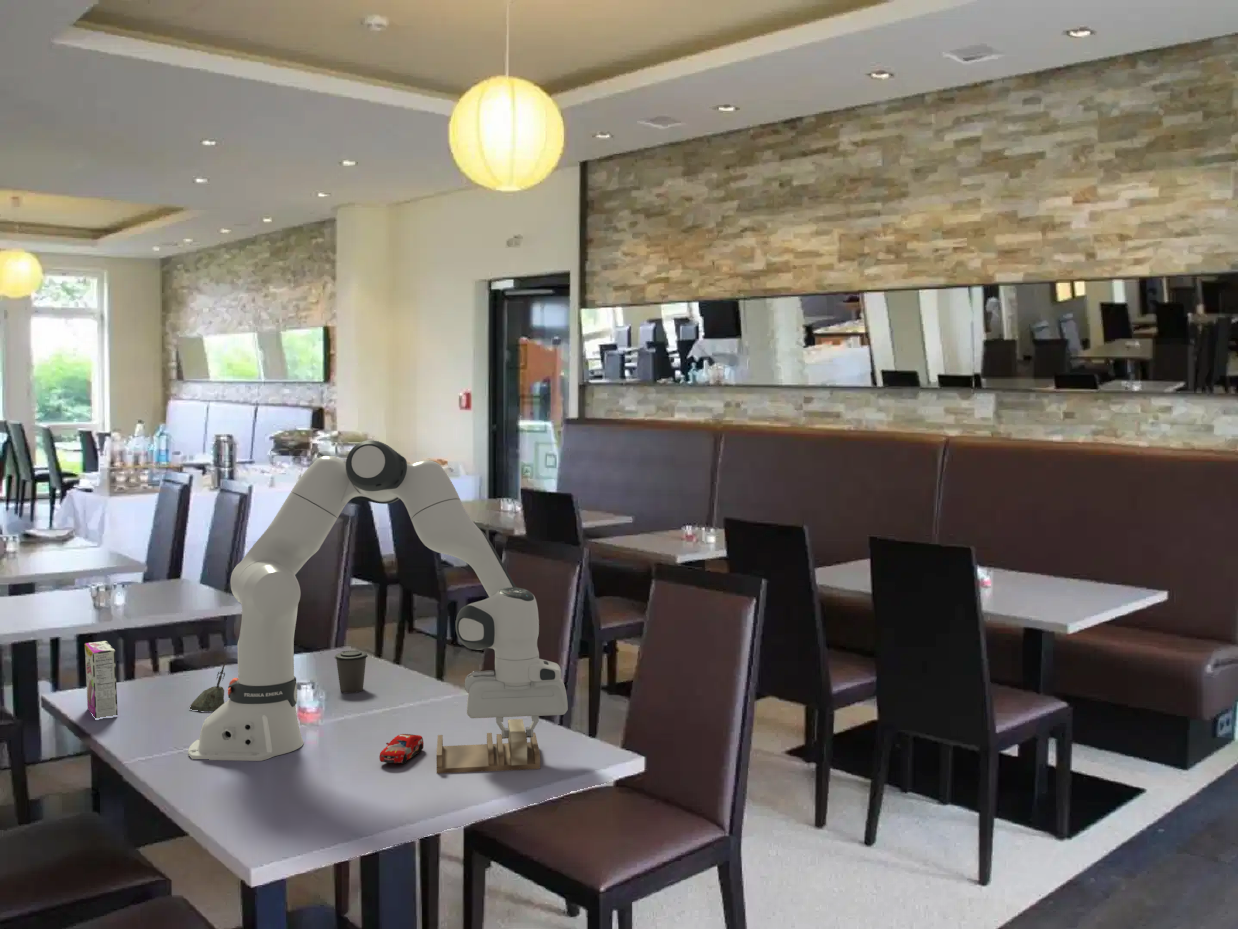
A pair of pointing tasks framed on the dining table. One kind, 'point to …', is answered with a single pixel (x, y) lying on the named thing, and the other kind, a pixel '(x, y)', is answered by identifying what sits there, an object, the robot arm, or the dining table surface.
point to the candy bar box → (101, 679)
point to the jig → (483, 756)
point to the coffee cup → (351, 670)
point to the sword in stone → (210, 696)
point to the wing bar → (517, 742)
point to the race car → (402, 748)
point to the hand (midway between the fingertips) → (517, 737)
